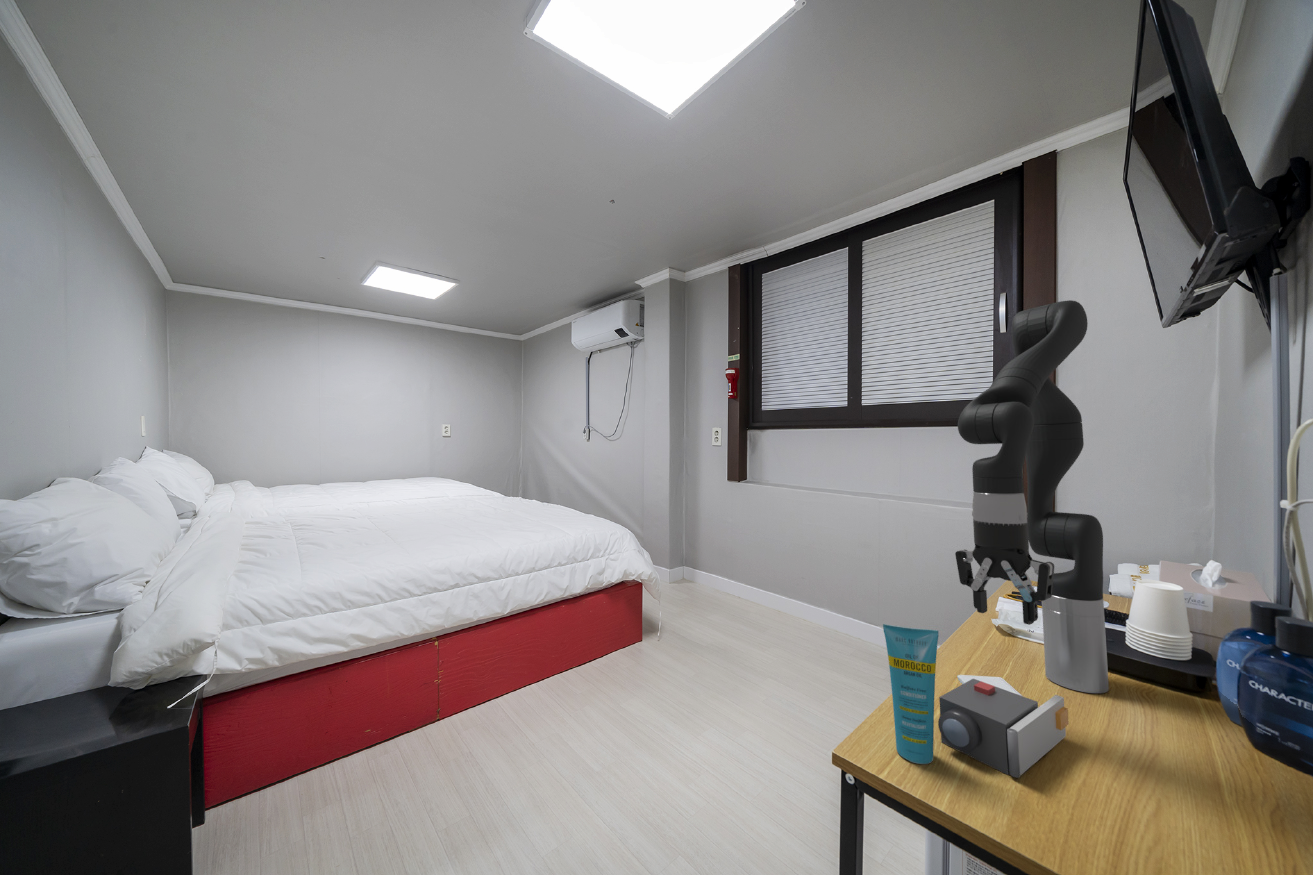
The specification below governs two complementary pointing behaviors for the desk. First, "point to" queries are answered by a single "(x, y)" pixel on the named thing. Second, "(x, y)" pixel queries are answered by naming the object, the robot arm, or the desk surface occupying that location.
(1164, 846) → the desk surface
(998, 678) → the external hard drive
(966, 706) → the camera body
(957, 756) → the desk surface
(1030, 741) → the door
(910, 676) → the tube
